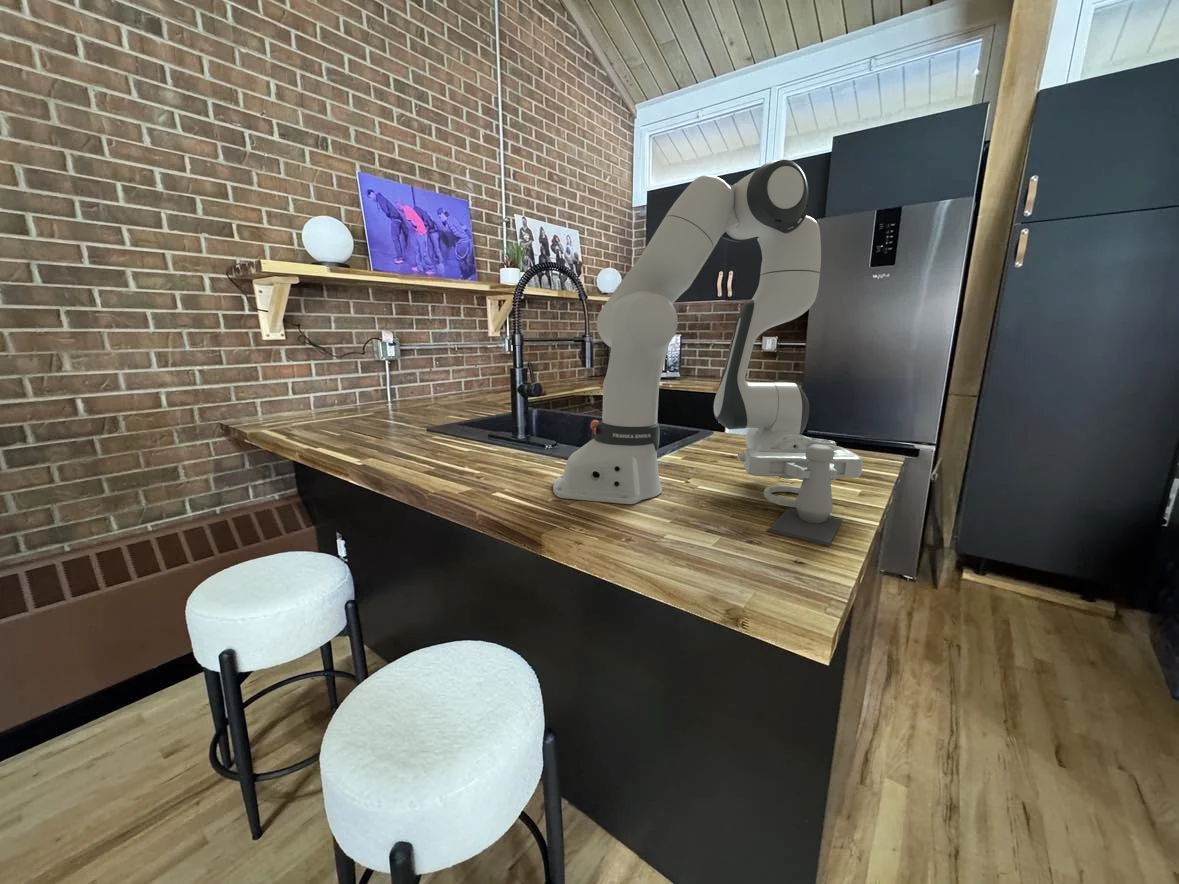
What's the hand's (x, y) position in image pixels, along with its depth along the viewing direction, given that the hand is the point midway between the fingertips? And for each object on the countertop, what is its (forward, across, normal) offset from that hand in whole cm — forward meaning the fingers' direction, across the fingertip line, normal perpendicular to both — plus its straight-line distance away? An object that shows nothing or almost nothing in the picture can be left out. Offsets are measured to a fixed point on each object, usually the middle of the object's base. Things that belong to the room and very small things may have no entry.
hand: (819, 475), depth 79 cm
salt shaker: (-1, 0, +8) cm, 8 cm away
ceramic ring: (-13, +1, +9) cm, 16 cm away
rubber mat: (+1, -2, +9) cm, 9 cm away
